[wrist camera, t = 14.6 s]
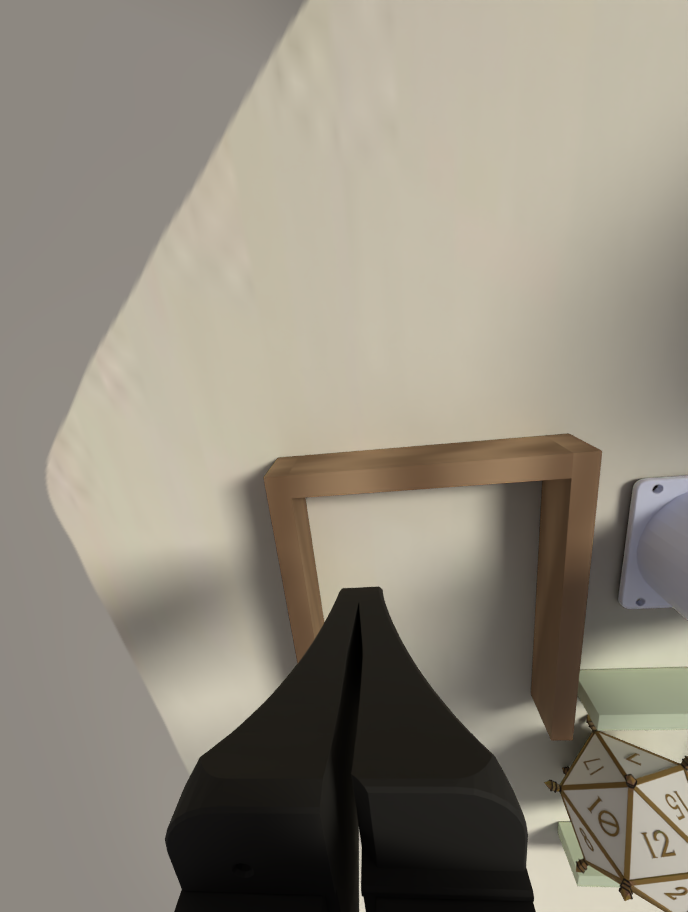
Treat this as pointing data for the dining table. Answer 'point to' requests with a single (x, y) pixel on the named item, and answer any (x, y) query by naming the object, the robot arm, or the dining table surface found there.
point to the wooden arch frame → (450, 465)
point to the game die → (630, 818)
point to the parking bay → (626, 725)
